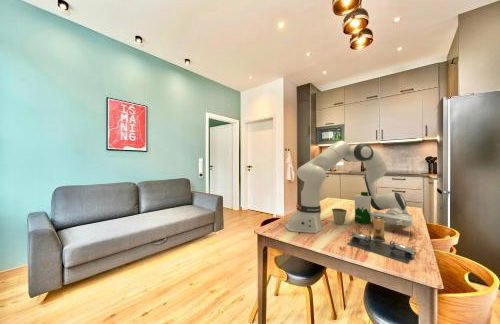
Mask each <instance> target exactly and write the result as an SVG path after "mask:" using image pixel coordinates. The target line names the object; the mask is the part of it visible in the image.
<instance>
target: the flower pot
mask: <svg viewBox="0 0 500 324" xmlns="http://www.w3.org/2000/svg"><path fill="white" fill-rule="evenodd" d="M331 211H332V216H333V217H332V218H333V222H334V224H336V225H344V224H345V220H346V215H347V213H348V210H347V209H345V208H332V209H331Z"/></svg>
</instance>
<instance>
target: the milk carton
mask: <svg viewBox="0 0 500 324" xmlns="http://www.w3.org/2000/svg"><path fill="white" fill-rule="evenodd" d="M371 197H372V196H369V194H368V191H361V192H360V194H355V195H353V200H354V220H353V221H354V223H358V224H360V225H368V224H371V223H372V219H371V218H370V214H371V213H372V212H371V211H372V208H371V207H372V206H371Z"/></svg>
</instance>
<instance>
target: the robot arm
mask: <svg viewBox="0 0 500 324" xmlns="http://www.w3.org/2000/svg"><path fill="white" fill-rule="evenodd" d="M342 160H343V161H345V162H347V163H351V162H353V163H359V162H362V163H363V165H364V168H365V170H366V173H365V175H364V183H365V187H366V190H367V192H368V196H372V197H371V203H370V204H371V207H372V208H373V209H374V210H376V211H372V212H371V214H370V218H371V220H373V217H374V216H381V217H383V218H384V223H389V224H391V225H397V226H399V225H400V226H405V227H413V216H412V214H411V213H408V210H407V203H406V200H405V197H403V195H402V194H400V193H398V192H396V191H395V192H394V191H393V192H389V193H383V194H378V193H377V191H376V187H375V184H374V183H375V182H376V181H378V180H379V179H382V178H383V177H384V176H385V175H386V173H387V170H388V168H387V164H386V162H385V160H384V159H383V157H382V155H381V154H380V152H379V151H378V150H377V149H375V148H373V147H371V146H370V145H369V144H366V143H359V144H351V145H349V144H348V142H346V141H344V140H339V141H336V142H335V143H332V144H331V145H330V146H329V147H327V148H326V149H325V150H323V151H322V152H321V153H319V154H318V155H317V156H315V157H314V158H311V160H309V161H308V162H306V163H305V164H303V165H301V166H300V167H298V168H297V170H296V175H297V178H299V180H301V181H302V182H304V183H303V188H302V190H301V192H300V195H301V196H300V202H301V203H300V204H297V203H296V204H295V206H296V208H297V210H296V211H295V212H293V214H291V215H289V219H288V222H286V223H285V229H286V230H288V231H289V232H292V233H294V232H295V233H311V234H318V233H319V232H321V231H322V230H323V229H324V228H323V225H322V224H323V223H322V221H321V220H322V219H321V213H322V212H321V211H322V207H321V189H322V186H323V183H324V181H325V180H326V178H327V172H326V171H329V170H331V169H332V168H334V167H335V166H336V165H337V164H338V163H340V162H341V161H342ZM383 210H384V211H385V210H387V211H385V212H380V211H383Z"/></svg>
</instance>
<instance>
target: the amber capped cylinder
mask: <svg viewBox="0 0 500 324" xmlns="http://www.w3.org/2000/svg"><path fill="white" fill-rule="evenodd" d="M372 221H373V222H372V223H373V224H372V225H373V226H372V229H373V230H372V234H373V235H372V240H374V241H378V242H382V243H385V242H386V238H385V222H384V218H383V217H381V216H374V217H373V219H372Z"/></svg>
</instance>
